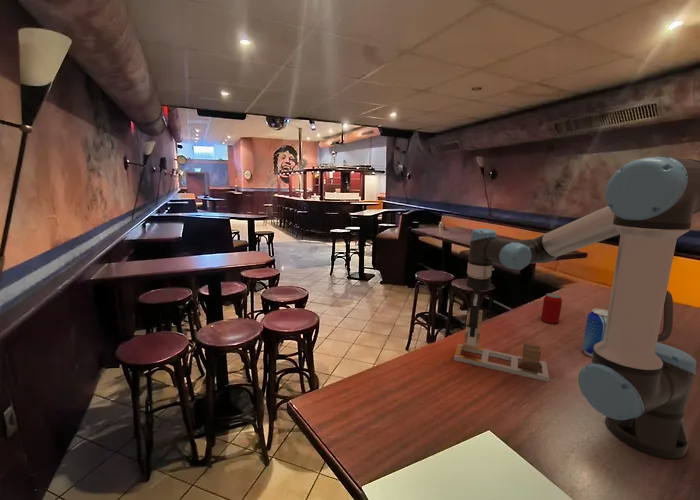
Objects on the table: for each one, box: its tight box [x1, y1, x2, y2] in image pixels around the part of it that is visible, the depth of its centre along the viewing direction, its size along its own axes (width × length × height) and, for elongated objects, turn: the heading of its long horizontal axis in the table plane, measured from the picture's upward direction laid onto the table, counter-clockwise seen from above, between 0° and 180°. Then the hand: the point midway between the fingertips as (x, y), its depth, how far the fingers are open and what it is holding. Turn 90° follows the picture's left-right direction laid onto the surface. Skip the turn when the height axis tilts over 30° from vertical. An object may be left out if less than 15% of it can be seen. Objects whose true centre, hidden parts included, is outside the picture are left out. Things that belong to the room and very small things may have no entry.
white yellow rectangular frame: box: [453, 343, 550, 382], centre depth 114 cm, size 10×28×2 cm, turn 65°
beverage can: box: [540, 292, 563, 325], centre depth 148 cm, size 7×7×12 cm
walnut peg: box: [520, 342, 542, 373], centre depth 110 cm, size 4×4×8 cm
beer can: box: [581, 308, 608, 358], centre depth 120 cm, size 8×8×16 cm
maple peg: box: [464, 307, 484, 352], centre depth 116 cm, size 4×4×13 cm
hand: (472, 341), depth 117 cm, fingers closed on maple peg, 5 cm apart
